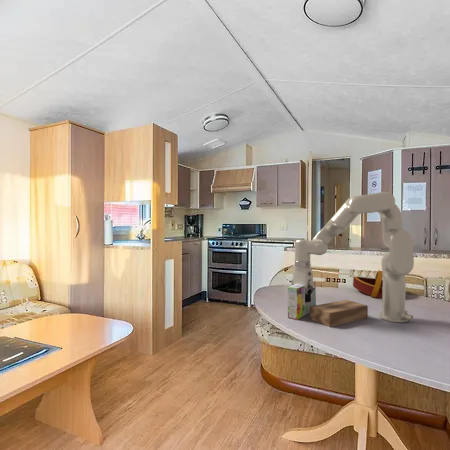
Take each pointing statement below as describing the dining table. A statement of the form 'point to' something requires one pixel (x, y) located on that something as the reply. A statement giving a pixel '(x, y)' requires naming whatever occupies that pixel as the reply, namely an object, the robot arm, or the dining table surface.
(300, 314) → the snack box
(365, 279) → the decorative basket
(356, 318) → the walnut riser
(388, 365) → the dining table surface
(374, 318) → the dining table surface
